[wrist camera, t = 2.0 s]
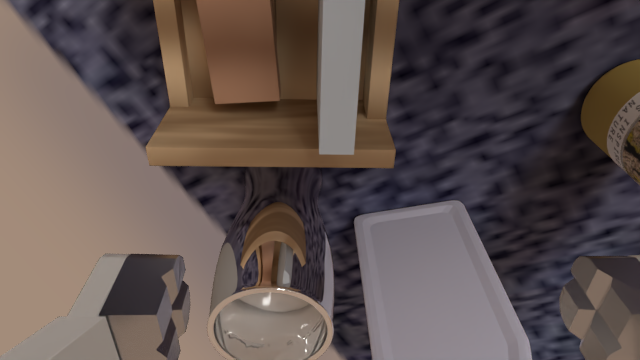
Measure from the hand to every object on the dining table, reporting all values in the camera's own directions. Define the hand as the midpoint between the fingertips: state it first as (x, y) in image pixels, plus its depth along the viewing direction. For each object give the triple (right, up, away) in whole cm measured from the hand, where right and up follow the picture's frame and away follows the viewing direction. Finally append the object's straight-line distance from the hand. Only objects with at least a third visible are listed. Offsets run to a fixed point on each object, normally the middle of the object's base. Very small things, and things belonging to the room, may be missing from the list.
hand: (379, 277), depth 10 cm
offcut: (-6, +11, +18) cm, 22 cm away
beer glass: (-4, +2, +27) cm, 27 cm away
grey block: (0, +12, +19) cm, 23 cm away
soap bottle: (+7, -3, +31) cm, 31 cm away
